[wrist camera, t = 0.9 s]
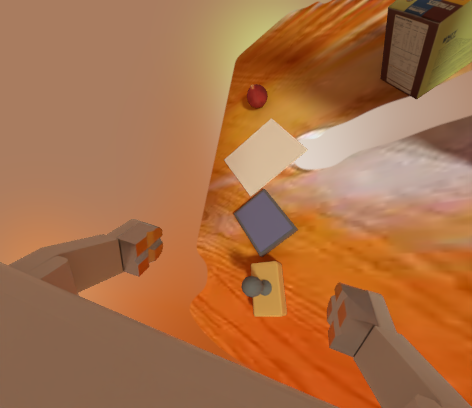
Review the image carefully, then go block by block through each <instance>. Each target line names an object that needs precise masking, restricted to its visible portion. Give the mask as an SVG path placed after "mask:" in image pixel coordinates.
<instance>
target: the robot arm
mask: <svg viewBox="0 0 472 408" xmlns="http://www.w3.org/2000/svg"><path fill="white" fill-rule="evenodd" d="M161 236H162V229H161V228H159V227H157V226H154V225H151V224H148V223H145V222H141V221H138V220H135V219H132V220H130V221H128V222H126V223H125V224H123V225H122V226H120V227H119V228H117V229H115V230H113V231H112V232H110V233H109V234H107V235H104V234H103V235H98V236H93V237H89V238H84V239H80V240H75V241H71V242H66V243H62V244H57V245H52V246H48V247H44V248H40V249H38V250H37V251H35V252H33V253H31V254H29V255H27V256H25V257H23V258H21V259H19V260H17V261H15V262H14V263H12V264H10V265H5V264H3V263H1V262H0V408H339V407H336V406H334V405H332V404H330V403H327V402H325V401H323V400H320V399H318V398H316V397H313V396H311V395H309V394H306V393H304V392H302V391H299V390H297V389H295V388H292V387H290V386H288V385H285V384H283V383H280V382H278V381H276V380H273V379H271V378H269V377H266V376H264V375H262V374H259V373H257V372H255V371H252V370H250V369H248V368H245V367H243V366H241V365H238V364H236V363H233V362H231V361H229V360H227V359H224V358H222V357H220V356H217V355H214V354H213V353H210V352H208V351H205V350H203V349H201V348H198V347H196V346H194V345H192V344H189V343H187V342H185V341H182V340H180V339H178V338H175V337H173V336H171V335H168V334H166V333H164V332H161V331H159V330H156V329H154V328H152V327H150V326H147V325H145V324H143V323H140V322H138V321H136V320H134V319H131V318H129V317H127V316H124V315H122V314H119V313H117V312H115V311H112V310H110V309H108V308H105V307H103V306H101V305H98V304H96V303H94V302H92V301H89V300H87V299H85V298H82V297H80V296H79V295H78V292H80V291H82V290H85V289H87V288H89V287H91V286H94V285H96V284H98V283H100V282H103V281H105V280H107V279H109V278H111V277H114V276H116V275H118V274H120V273H122V272H123V271H124V272H127V273H130V274H133V275H136V276H140V275H141V274H142V273H143V272H144V271H145V270H146V269H147V268H148V267H149V263H150V262H153V261H155V260H156V259H157V258H158V257H159V256H160V254H161V252H162V249H163V242H162V241H161V239H160V237H161ZM327 321H328V323H329V324H330V328H329V330H328V338H329V348H331V349H334V350H336V351H339V352H341V353H344V354H346V355H349V356H351V357H354V358H353V359H354V361H355V362H356V364H357V366H358V367H359V369H360V371H361V373H362V374H363V376H364V378H365V379H366V381H367V383H368V385H369V386H370V388H371V390H372V391H373V393H374V395H375V397H376V398H377V400H378V402H379V403H380V405H381V407H382V408H472V407H471V406H470V405H469V404H468V403H467V402H466V401H465V400H464V399H463V398H462V396H461V395H460V394H459V393H458V392H457V391H456V390H455V389H454V388H453V387H452V386H451V385H450V384H449V383H448V382H447V381H446V380H445V379H444V378H443V377H442V376H441V375H440V374H439V373H438V372H437V371H436V370H435V369H434V368H433V366H432V365H431V364H430V363H429V362H428V361H427V360H426V359H425V358H424V357H423V356H422V355H421V354H420V353H419V352H418V351H417V350H416V349H415V348H414V347H413V346H412V345H411V344H410V343H409V342H408V341H407V340H406V339H405V338H404V336H403V335H401V334H398V333H397V332H396V329H395V327H394V324H393V321H392V319H391V316H390V314H389V311H388V309H387V306H386V303H385V301H384V298H383V296H382V295H381V294H378V293H374V292H371V291H367V290H363V289H359V288H356V287H353V286H349V285H346V284H343V283H338V284H337V285H336V287H335V295H334V296H332V297H331V298H330V301H329V303H328V308H327Z"/></svg>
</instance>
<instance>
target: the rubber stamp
mask: <svg viewBox="0 0 472 408" xmlns="http://www.w3.org/2000/svg"><path fill="white" fill-rule="evenodd" d="M242 290H243V292H244V293H245V294H246V296H249V297H253V314H254V316H285V315H286V314H287V308H286V299H285V290H284V281H283V272H282V264H281V263H279V262H277V261H271V262H262V263H252V264H251V276H249V277H246V278H245V279H244V281H243V282H242Z"/></svg>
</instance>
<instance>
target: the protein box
mask: <svg viewBox="0 0 472 408" xmlns="http://www.w3.org/2000/svg"><path fill="white" fill-rule="evenodd" d="M471 62H472V0H396V1H395V2H394V3H393V4H391V5H390V6H389V7H388V15H387V25H386V34H385V43H384V53H383V62H382V71H381V79H382V80H384V81H385V82H387V83H389V84H391V85H392V86H394V87H396V88H398V89H399V90H401V91H403V92H405V93H406V94H408V95H410V96H412V97H414V98H415V99H418V98H419V97H421V96H422V95H423V94H425V93H427V92H428V91H430V90H431V89H433V88H434V87H435V86H437V85H438V84H440V83H441V82H443V81H444V80H446V79H447V78H449V77H450V76H452V75H453V74H455V73H456V72H457V71H459V70H460V69H462V68H463V67H465V66H466V65H468V64H469V63H471Z"/></svg>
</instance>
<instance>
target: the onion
mask: <svg viewBox="0 0 472 408" xmlns="http://www.w3.org/2000/svg"><path fill="white" fill-rule="evenodd" d="M267 97H268V96H267V91H266V90H265V88H264V87H263V86H261V85H257V84H256V85H251V86H250V88H249V90H248V93H247V99H248V102H249V104H250V105H251V106H252V107H254V108H260V107H263V105H264V104H265V103H266V101H267Z"/></svg>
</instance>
